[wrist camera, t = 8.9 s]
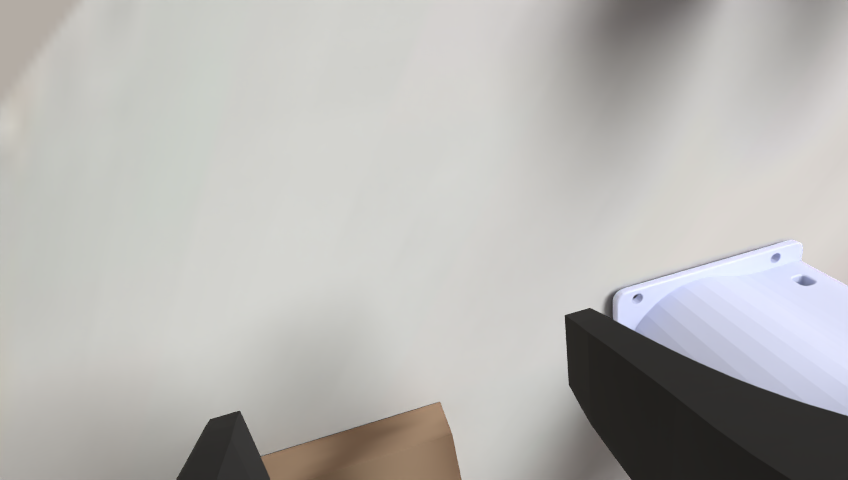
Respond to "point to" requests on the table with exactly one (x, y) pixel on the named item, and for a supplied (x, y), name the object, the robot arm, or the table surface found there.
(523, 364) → the table surface
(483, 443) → the table surface
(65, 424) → the table surface
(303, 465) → the walnut base
